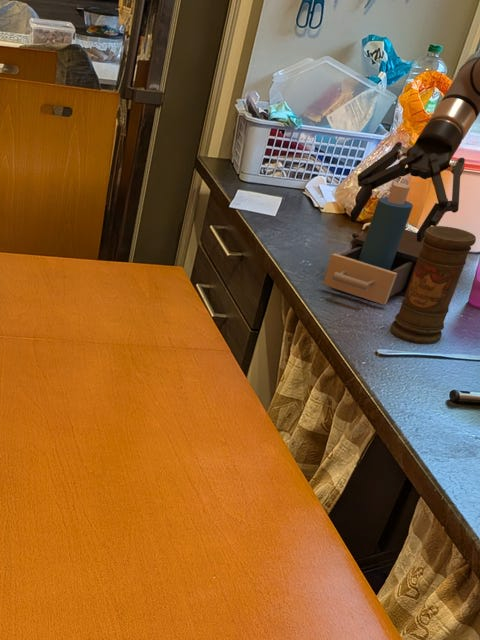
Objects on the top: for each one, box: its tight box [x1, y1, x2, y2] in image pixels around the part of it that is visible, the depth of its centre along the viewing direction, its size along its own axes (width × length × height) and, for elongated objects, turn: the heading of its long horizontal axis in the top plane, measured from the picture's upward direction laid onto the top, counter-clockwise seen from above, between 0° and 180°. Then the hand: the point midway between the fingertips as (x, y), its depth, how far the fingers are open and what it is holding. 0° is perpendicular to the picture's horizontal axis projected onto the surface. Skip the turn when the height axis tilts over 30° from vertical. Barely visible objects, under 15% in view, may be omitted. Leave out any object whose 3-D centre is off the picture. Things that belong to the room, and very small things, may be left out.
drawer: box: [322, 245, 416, 306], centre depth 184 cm, size 20×13×6 cm, turn 139°
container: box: [390, 225, 477, 345], centre depth 165 cm, size 9×9×18 cm
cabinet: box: [350, 229, 425, 298], centre depth 192 cm, size 17×14×8 cm
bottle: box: [358, 182, 414, 271], centre depth 180 cm, size 6×6×18 cm
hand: (384, 227), depth 178 cm, fingers open, 13 cm apart
